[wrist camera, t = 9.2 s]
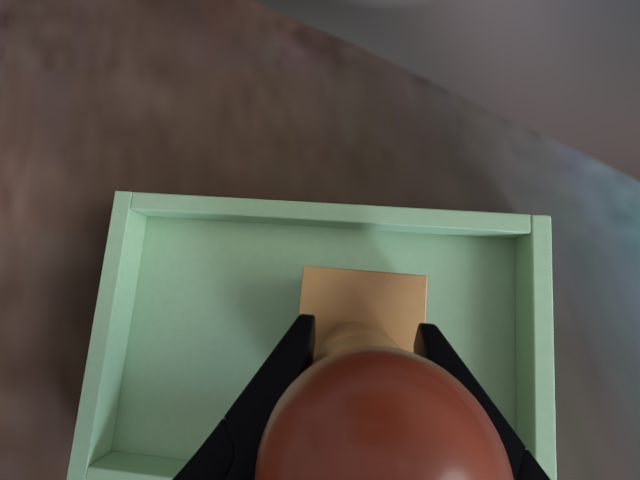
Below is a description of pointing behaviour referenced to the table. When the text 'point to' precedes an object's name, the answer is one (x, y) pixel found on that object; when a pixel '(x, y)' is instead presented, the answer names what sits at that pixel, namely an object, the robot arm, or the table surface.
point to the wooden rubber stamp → (375, 393)
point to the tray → (292, 313)
